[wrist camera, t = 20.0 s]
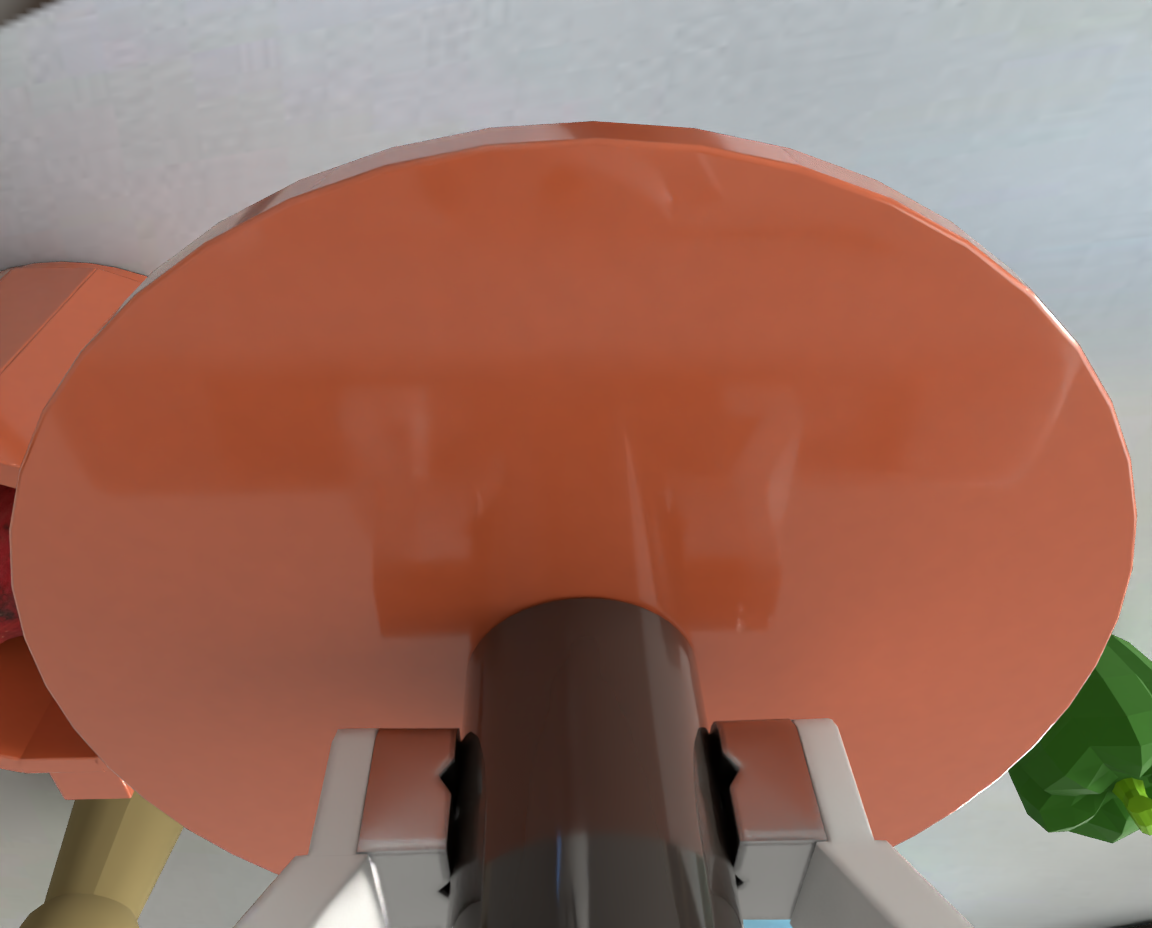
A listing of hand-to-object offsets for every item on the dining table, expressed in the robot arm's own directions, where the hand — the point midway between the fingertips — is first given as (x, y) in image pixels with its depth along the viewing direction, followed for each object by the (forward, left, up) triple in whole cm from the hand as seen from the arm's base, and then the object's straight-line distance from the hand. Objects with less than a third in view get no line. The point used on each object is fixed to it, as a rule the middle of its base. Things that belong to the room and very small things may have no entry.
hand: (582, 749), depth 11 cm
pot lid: (0, 0, -2) cm, 2 cm away
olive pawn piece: (+32, -22, -22) cm, 44 cm away
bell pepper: (+24, +24, -22) cm, 41 cm away
